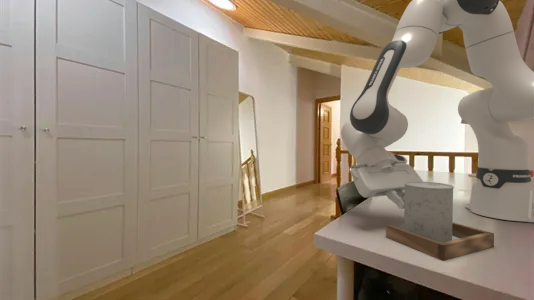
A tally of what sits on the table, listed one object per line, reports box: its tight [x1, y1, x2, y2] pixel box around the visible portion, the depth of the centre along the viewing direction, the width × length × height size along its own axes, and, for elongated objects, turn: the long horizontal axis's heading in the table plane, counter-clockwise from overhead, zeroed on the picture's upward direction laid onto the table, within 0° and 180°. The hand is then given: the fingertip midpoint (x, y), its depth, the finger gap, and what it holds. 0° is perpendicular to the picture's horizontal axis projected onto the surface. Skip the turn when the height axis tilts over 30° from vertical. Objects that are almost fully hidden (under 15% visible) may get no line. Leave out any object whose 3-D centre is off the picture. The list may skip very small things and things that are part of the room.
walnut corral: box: [385, 221, 495, 261], centre depth 57 cm, size 16×13×3 cm
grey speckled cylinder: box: [403, 181, 455, 243], centre depth 59 cm, size 10×10×12 cm
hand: (406, 207), depth 64 cm, fingers closed, pressing on grey speckled cylinder
